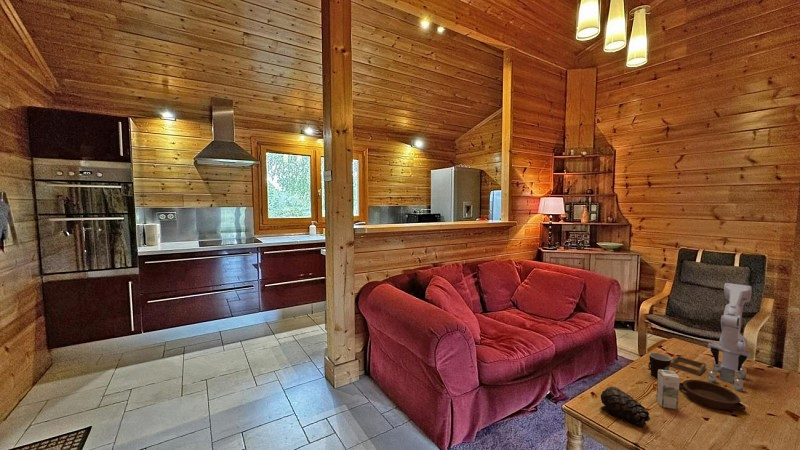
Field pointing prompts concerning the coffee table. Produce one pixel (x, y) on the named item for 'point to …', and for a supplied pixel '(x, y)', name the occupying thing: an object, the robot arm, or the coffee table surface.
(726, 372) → the grey cube
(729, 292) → the robot arm
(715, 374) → the cylinder
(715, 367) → the cylinder
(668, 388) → the syrup box
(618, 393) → the pine cone
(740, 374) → the cylinder
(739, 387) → the cylinder
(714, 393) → the dish
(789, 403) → the coffee table surface
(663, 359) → the coffee mug
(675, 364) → the square frame
